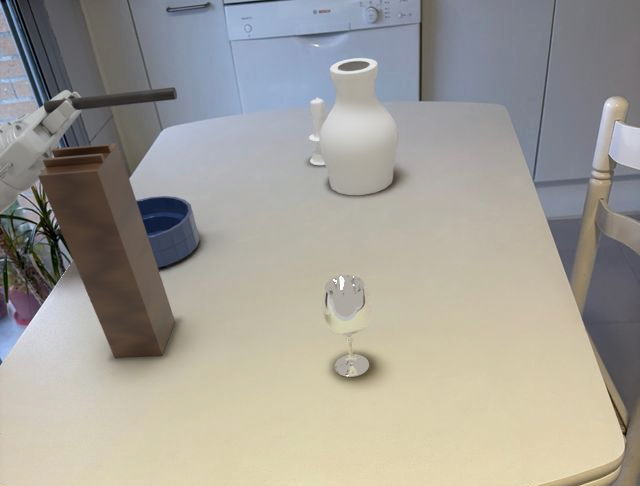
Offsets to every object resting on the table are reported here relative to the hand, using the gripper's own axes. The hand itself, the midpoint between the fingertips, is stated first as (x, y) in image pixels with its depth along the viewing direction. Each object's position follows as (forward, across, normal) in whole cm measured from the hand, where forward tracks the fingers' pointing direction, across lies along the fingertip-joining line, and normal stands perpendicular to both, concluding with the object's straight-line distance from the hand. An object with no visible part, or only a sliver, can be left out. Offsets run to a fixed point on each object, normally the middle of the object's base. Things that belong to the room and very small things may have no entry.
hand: (75, 100), depth 96 cm
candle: (+16, +32, +38) cm, 52 cm away
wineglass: (+22, -34, +41) cm, 58 cm away
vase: (+23, +20, +42) cm, 52 cm away
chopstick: (+4, 0, +4) cm, 5 cm away
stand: (-3, -26, +26) cm, 37 cm away
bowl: (-8, 0, +24) cm, 25 cm away
